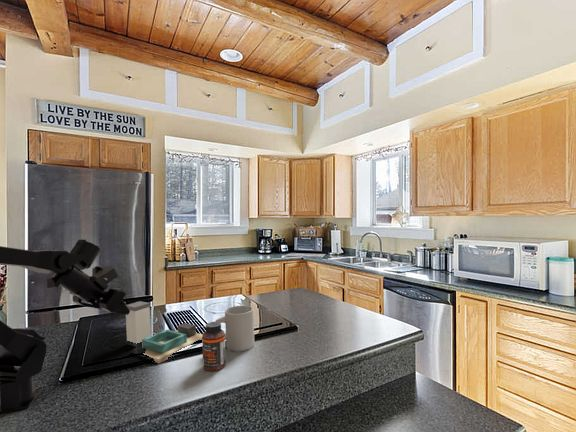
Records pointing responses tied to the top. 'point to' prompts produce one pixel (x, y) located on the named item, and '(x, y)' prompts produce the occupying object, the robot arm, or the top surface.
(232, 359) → the top surface
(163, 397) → the top surface
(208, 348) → the supplement bottle
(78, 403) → the top surface
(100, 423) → the top surface
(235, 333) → the mug
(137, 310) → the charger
